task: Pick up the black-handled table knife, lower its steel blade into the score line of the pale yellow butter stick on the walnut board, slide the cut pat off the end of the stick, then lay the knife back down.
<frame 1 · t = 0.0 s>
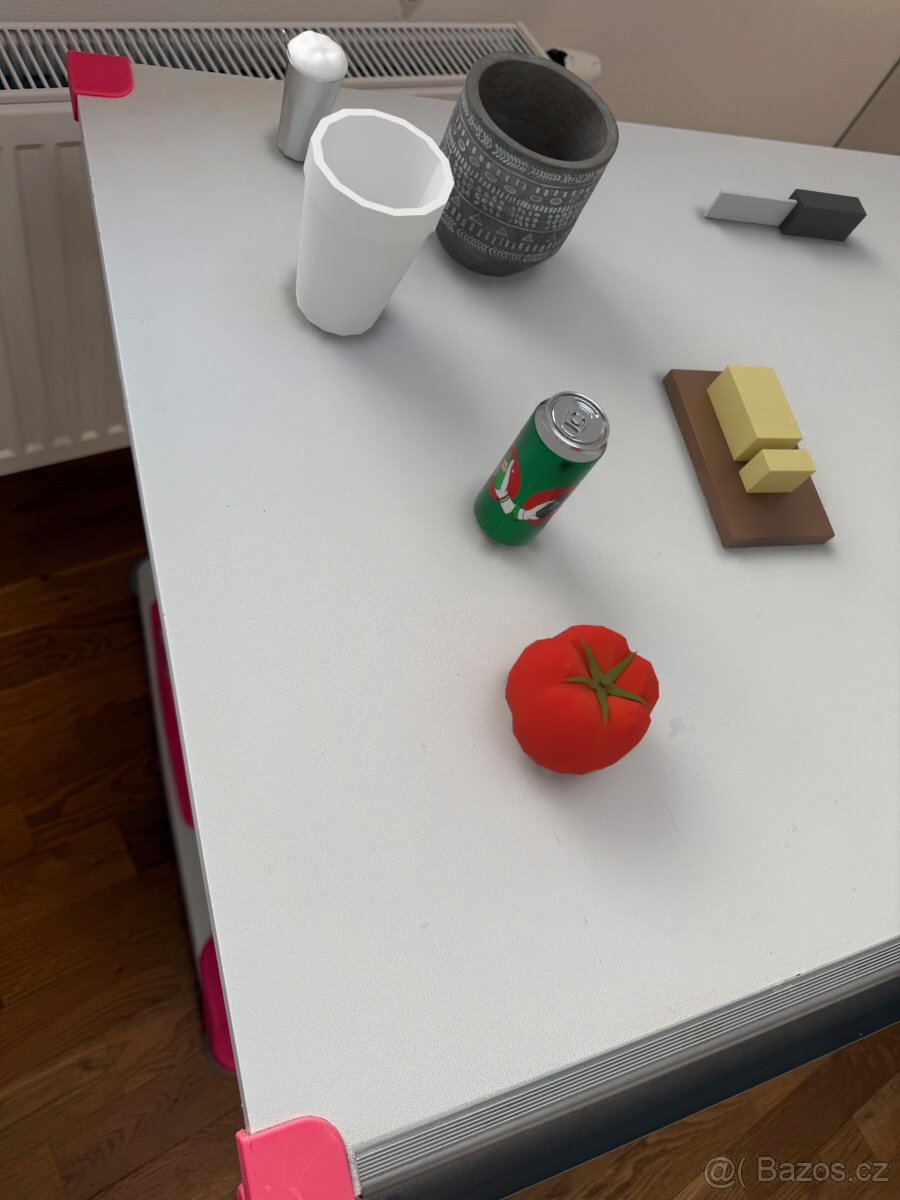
tomato: (557, 720, 63), on the table
foam cup: (336, 304, 73), on the table
milkshake: (291, 149, 79), on the table
butter pat: (764, 482, 77), point 1 cm above the table, touching board
board: (741, 461, 80), on the table
butter stick: (742, 425, 79), point 1 cm above the table, touching board
planter: (481, 240, 81), on the table
soda can: (503, 520, 69), on the table
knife: (778, 224, 97), on the table
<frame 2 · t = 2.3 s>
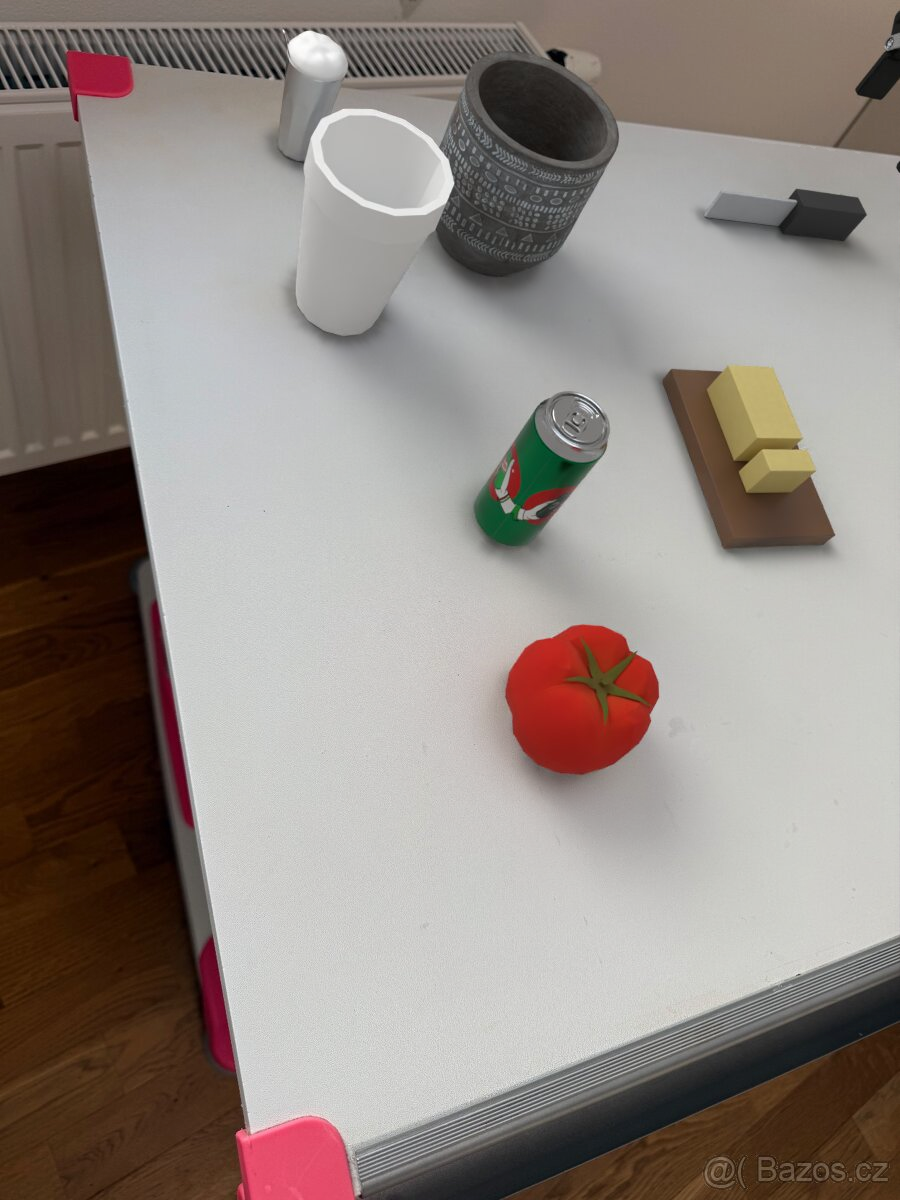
hand: (887, 133, 88), 11 cm above the table, tool pointing down, fingers open, 9 cm apart
nothing on the table moved.
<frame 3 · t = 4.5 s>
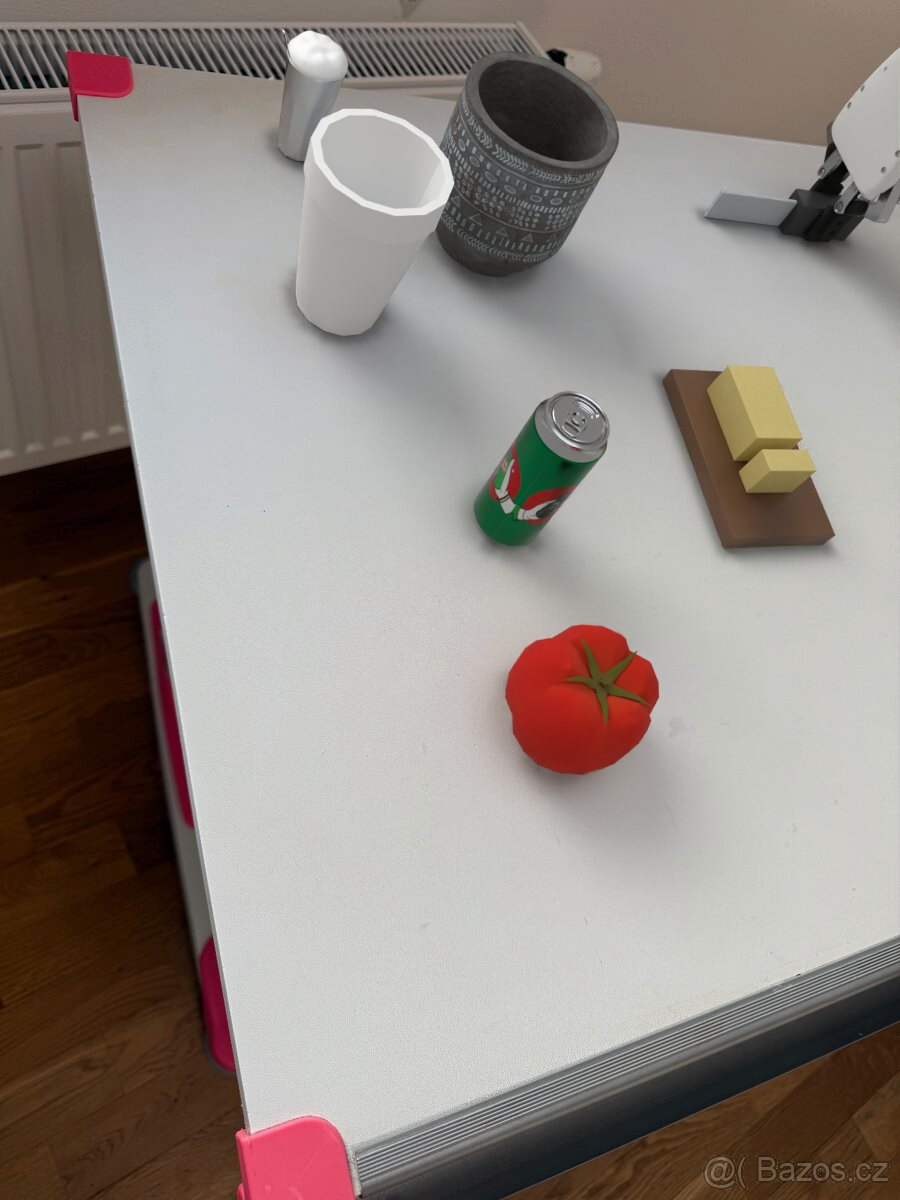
hand: (811, 225, 98), 0 cm above the table, tool pointing down, fingers closed on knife, 2 cm apart
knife: (778, 224, 97), on the table, touching gripper
everything else where it was.
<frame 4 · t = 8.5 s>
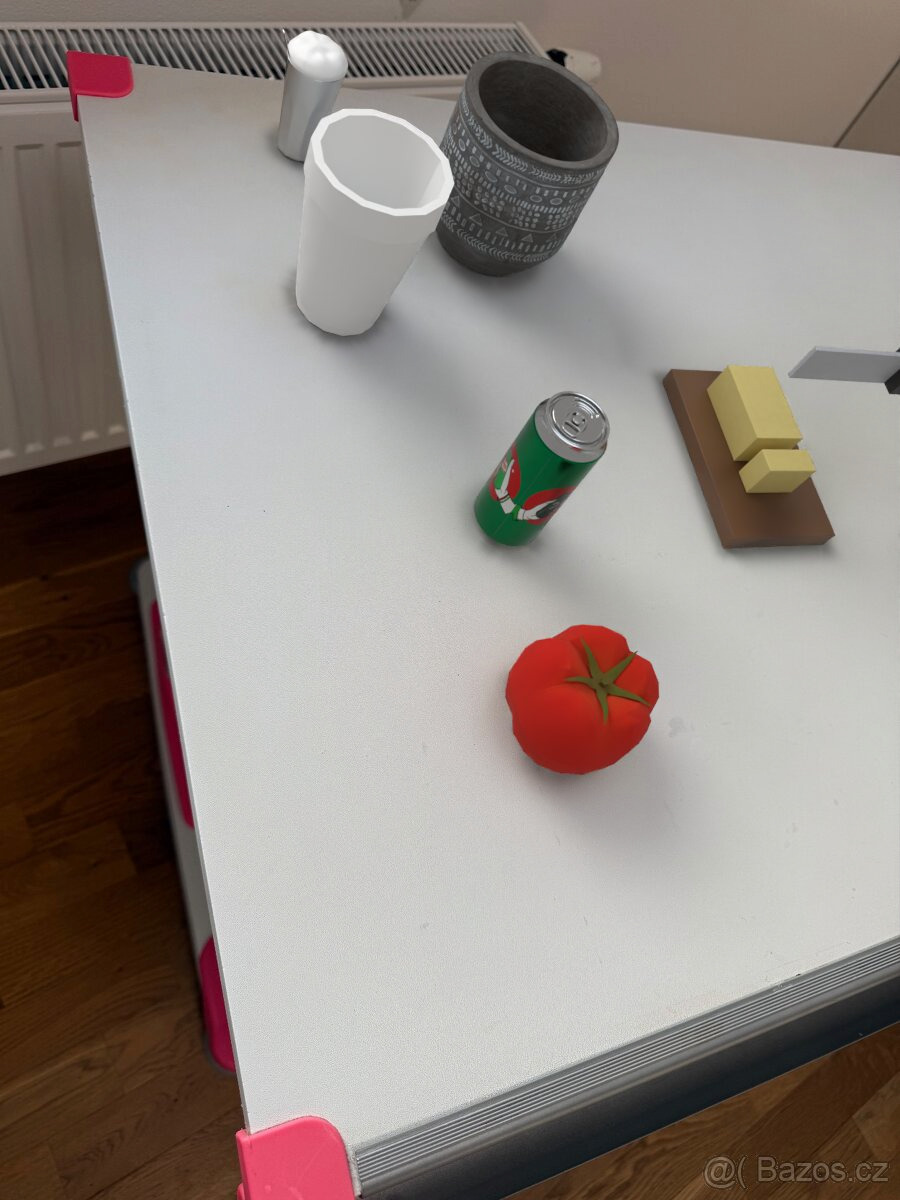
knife: (882, 381, 72), point 11 cm above the table, touching gripper
everything else where it was.
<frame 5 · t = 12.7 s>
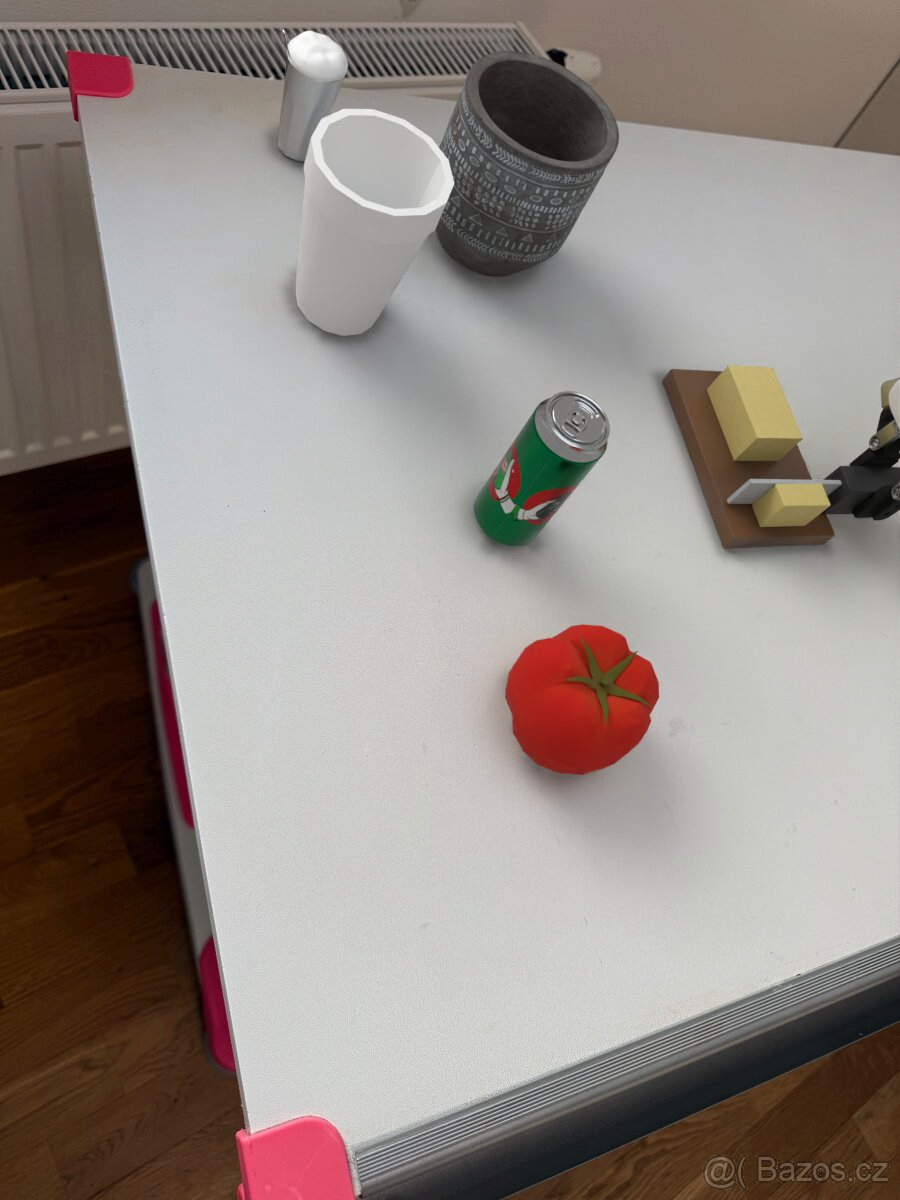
hand: (860, 497, 79), 2 cm above the table, tool pointing down, fingers closed on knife, 2 cm apart
butter pat: (778, 515, 76), point 1 cm above the table, touching board, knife
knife: (816, 502, 78), point 2 cm above the table, touching board, butter pat, gripper
everything else where it was.
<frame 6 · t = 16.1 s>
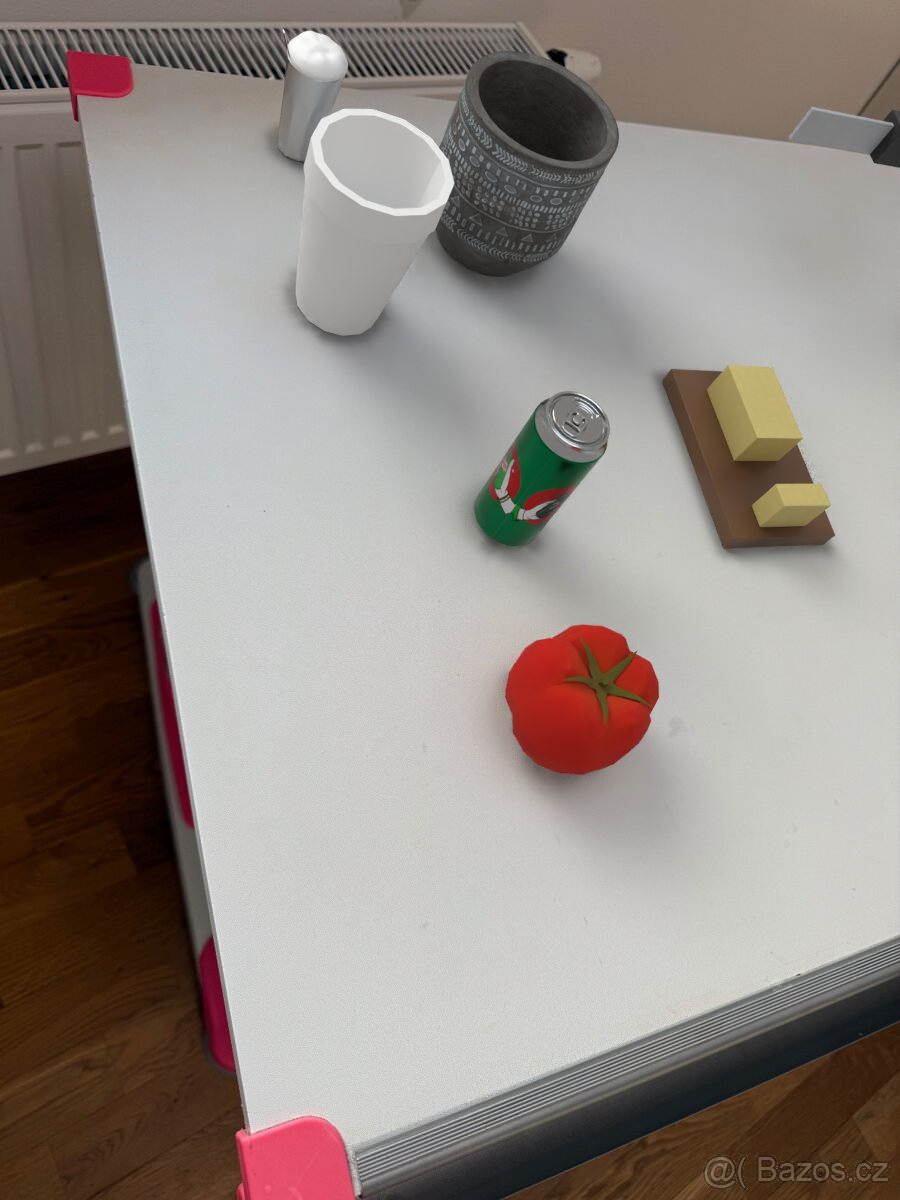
butter pat: (778, 516, 76), point 1 cm above the table, touching board
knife: (868, 153, 84), point 12 cm above the table, touching gripper
everything else where it was.
when the fingers open (1 cm above the table, at t = 19.5 s): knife stays where it is, on the table.
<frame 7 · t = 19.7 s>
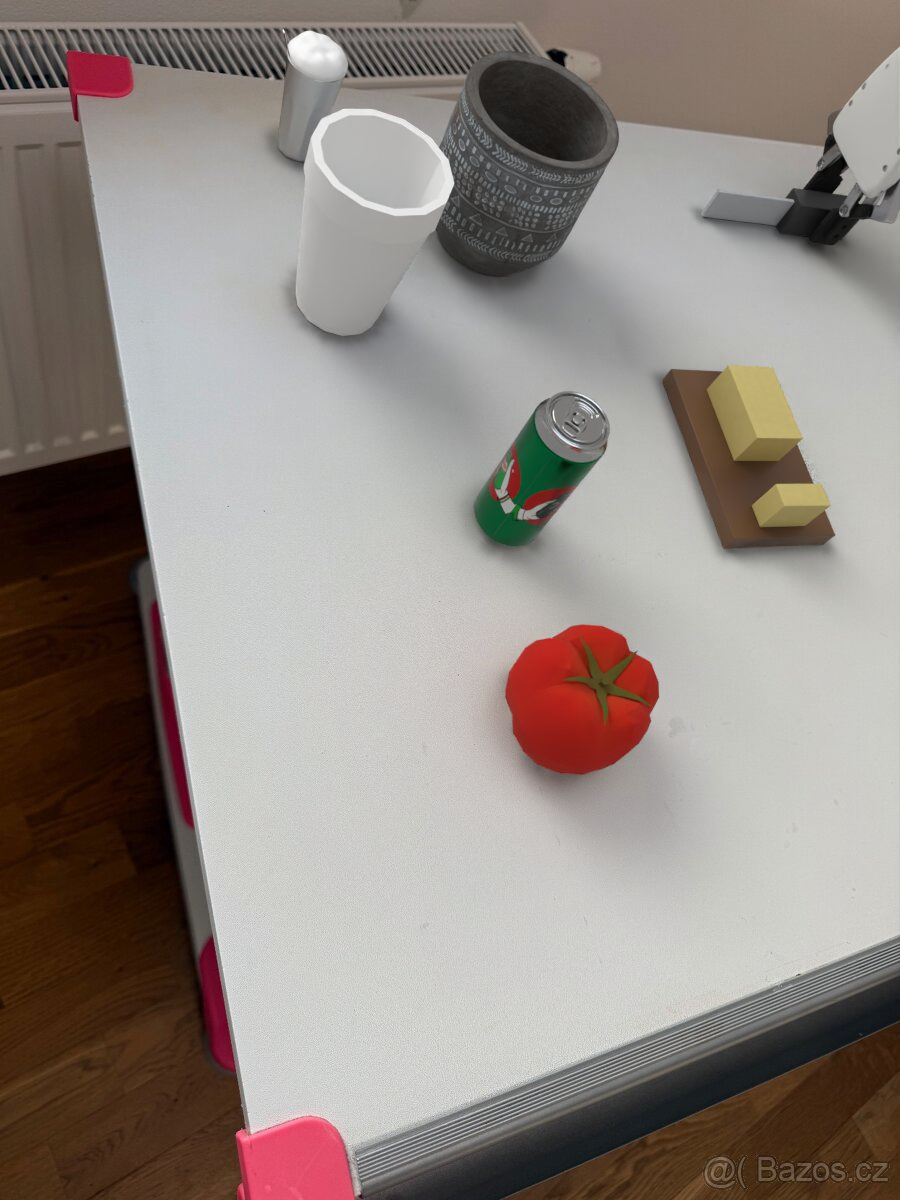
hand: (813, 223, 98), 1 cm above the table, tool pointing down, fingers open, 3 cm apart
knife: (775, 224, 96), on the table
everything else where it was.
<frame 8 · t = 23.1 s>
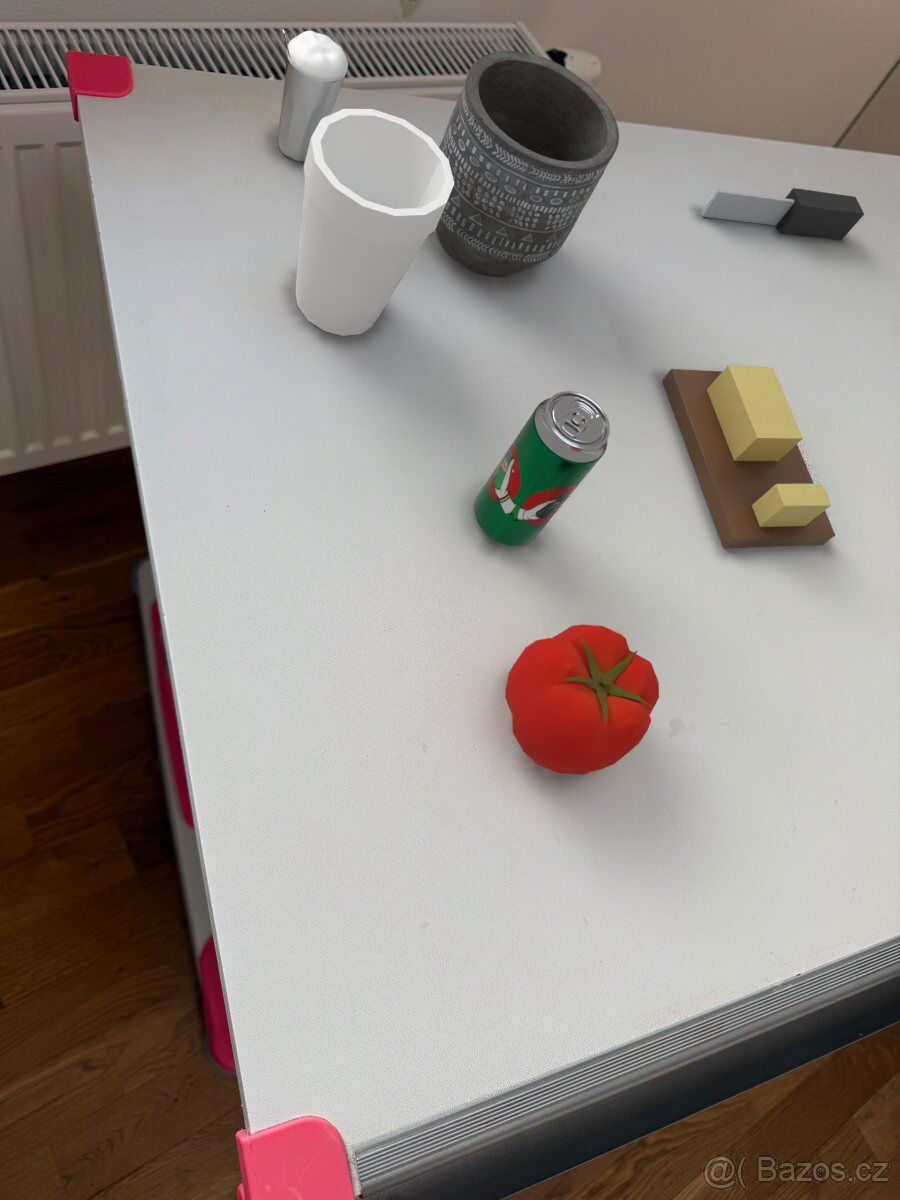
nothing on the table moved.
at the end: butter pat moved 3.1 cm from its start; butter stick moved 0.0 cm from its start; the gripper is holding nothing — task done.
